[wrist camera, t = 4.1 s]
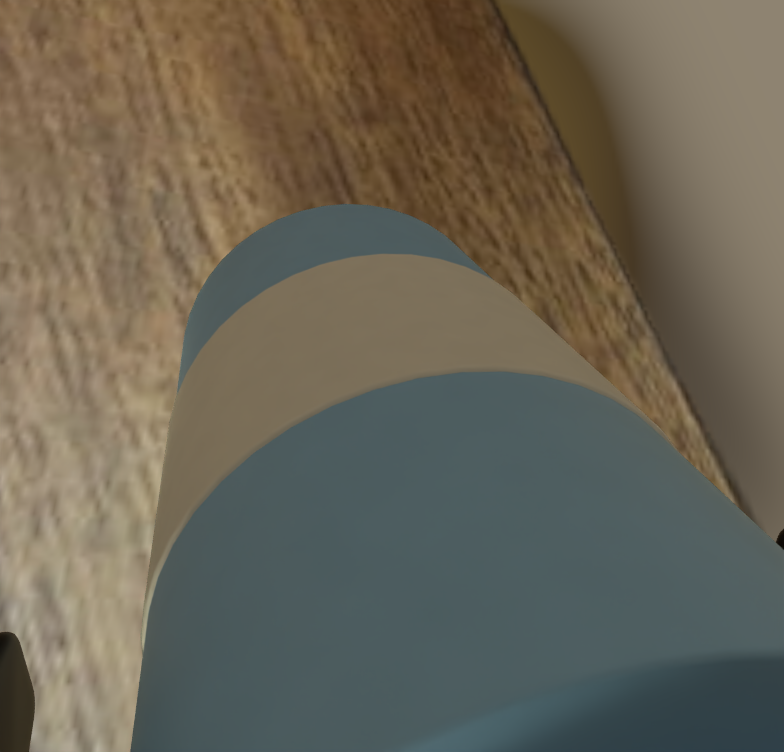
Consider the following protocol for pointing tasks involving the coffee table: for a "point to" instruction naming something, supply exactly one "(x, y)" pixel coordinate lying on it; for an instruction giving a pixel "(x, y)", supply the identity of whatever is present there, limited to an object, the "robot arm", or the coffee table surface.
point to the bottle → (433, 526)
